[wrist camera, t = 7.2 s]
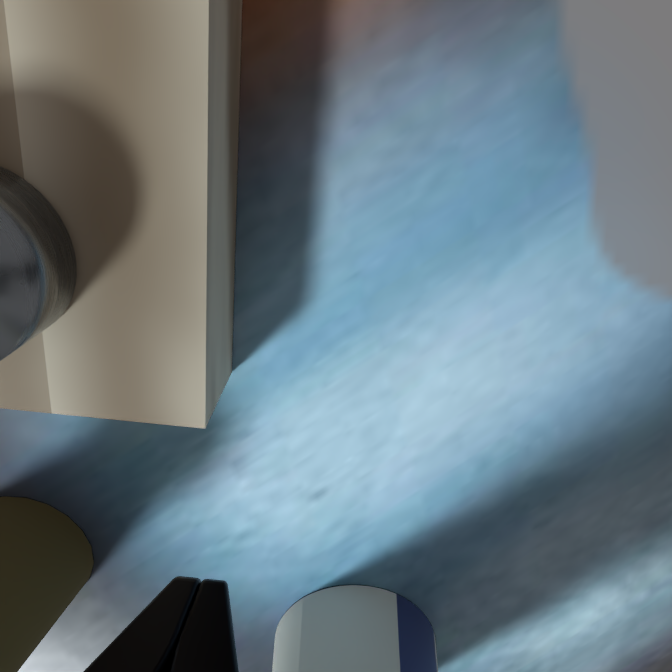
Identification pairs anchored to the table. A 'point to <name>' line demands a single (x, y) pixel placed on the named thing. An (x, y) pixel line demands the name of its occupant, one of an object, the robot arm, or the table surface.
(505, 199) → the table surface
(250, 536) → the table surface
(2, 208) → the metal plunger
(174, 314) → the plunger block
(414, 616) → the water bottle
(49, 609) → the cork
